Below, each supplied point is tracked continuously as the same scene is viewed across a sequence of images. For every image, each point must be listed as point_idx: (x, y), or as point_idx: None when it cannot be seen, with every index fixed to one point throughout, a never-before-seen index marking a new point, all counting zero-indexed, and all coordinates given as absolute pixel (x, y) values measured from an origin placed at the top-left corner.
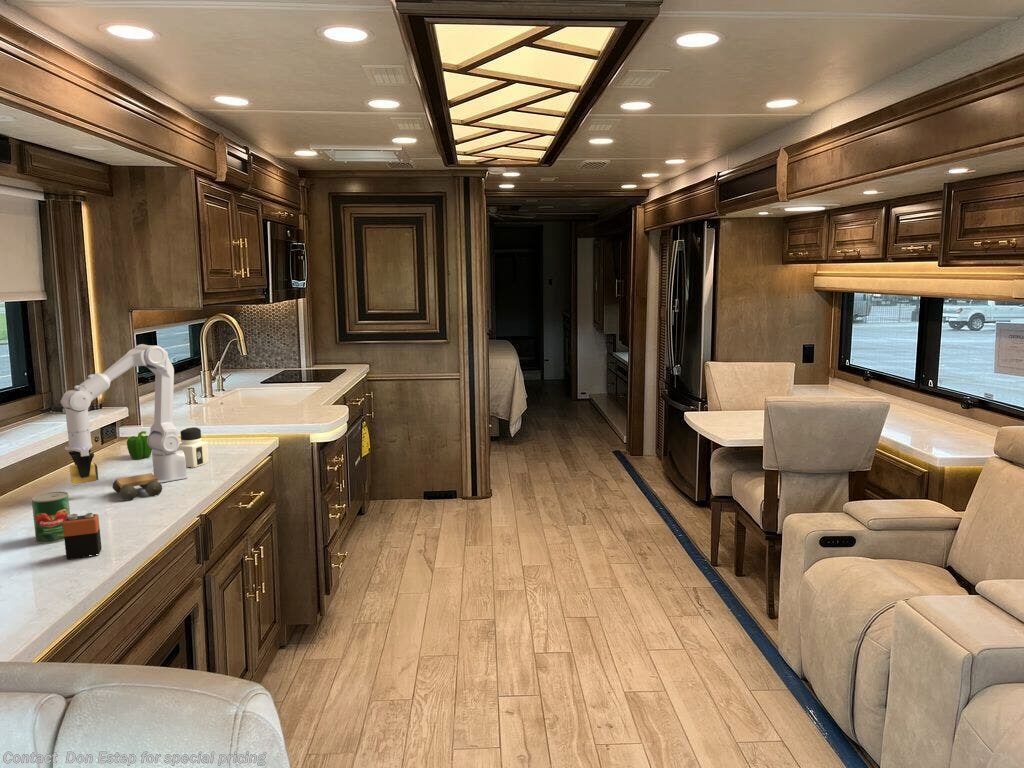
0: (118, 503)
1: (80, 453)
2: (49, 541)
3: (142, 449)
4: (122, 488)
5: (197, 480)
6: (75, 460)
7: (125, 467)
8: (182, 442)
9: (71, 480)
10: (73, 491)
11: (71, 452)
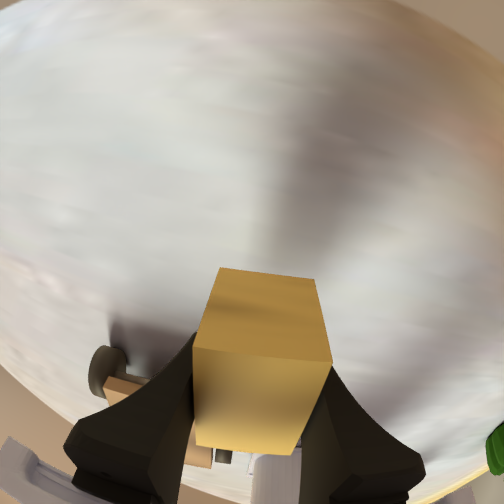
0: (97, 324)
1: (77, 486)
2: None
3: (494, 451)
4: (91, 374)
5: (213, 474)
6: (92, 415)
7: (483, 413)
8: None
9: (289, 284)
10: (418, 272)
11: (367, 488)
